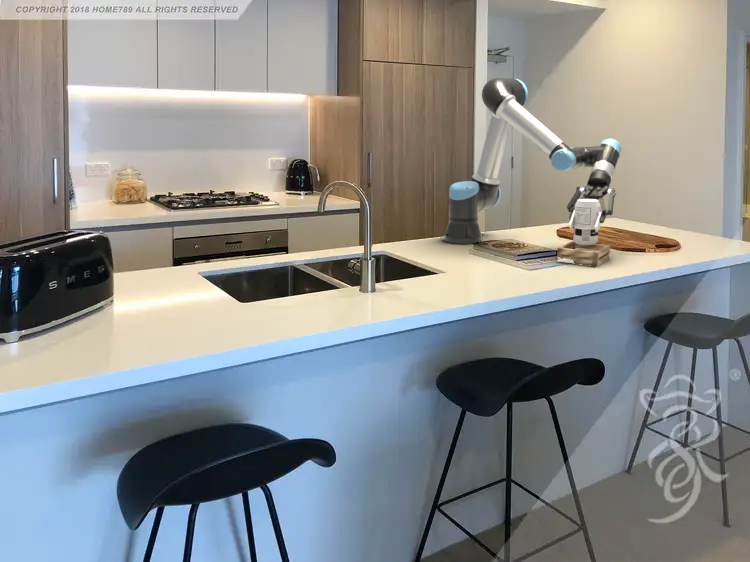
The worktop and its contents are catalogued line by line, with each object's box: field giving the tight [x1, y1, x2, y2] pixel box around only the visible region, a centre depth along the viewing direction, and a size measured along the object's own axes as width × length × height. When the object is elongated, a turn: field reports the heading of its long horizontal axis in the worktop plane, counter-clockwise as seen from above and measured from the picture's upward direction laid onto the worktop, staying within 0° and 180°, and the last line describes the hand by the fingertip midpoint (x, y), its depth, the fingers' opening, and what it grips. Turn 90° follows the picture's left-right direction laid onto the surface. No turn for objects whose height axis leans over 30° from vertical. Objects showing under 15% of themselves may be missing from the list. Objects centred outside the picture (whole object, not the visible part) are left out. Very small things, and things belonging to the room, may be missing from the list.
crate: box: [556, 240, 611, 267], centre depth 244 cm, size 14×14×5 cm
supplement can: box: [572, 198, 601, 245], centre depth 241 cm, size 8×8×15 cm
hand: (583, 228), depth 239 cm, fingers closed on supplement can, 8 cm apart
